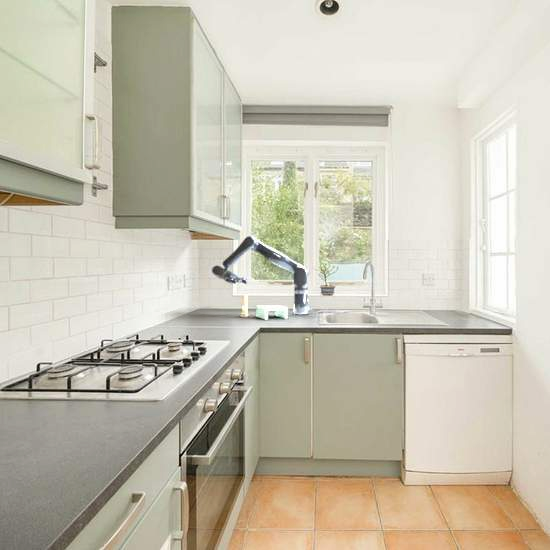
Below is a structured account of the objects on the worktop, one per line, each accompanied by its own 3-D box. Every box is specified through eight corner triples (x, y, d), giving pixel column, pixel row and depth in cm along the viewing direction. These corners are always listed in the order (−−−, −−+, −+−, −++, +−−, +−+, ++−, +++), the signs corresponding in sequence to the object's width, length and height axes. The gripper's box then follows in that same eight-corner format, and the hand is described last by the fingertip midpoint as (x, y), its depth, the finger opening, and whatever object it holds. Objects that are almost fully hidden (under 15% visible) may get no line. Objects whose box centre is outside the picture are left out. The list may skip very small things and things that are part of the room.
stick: (246, 315, 308) (246, 294, 307) (249, 316, 303) (250, 295, 302) (239, 315, 305) (239, 294, 305) (242, 316, 301) (242, 295, 300)
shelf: (277, 315, 309) (278, 305, 309) (287, 318, 297) (287, 307, 297) (256, 316, 302) (256, 306, 302) (264, 319, 290) (265, 308, 290)
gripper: (221, 271, 316) (232, 276, 303) (239, 272, 325) (251, 277, 311) (219, 282, 318) (231, 287, 305) (237, 282, 326) (249, 288, 313)
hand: (241, 282), depth 308 cm, fingers open, 8 cm apart
